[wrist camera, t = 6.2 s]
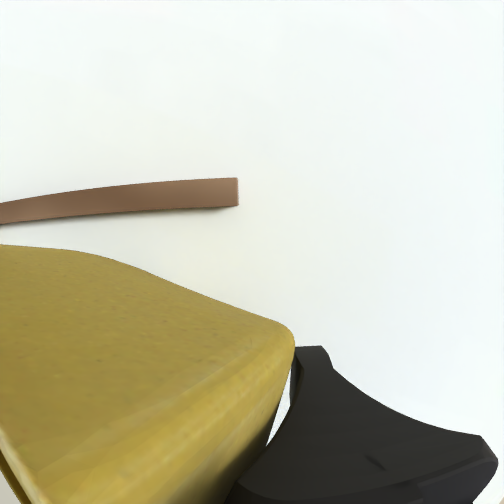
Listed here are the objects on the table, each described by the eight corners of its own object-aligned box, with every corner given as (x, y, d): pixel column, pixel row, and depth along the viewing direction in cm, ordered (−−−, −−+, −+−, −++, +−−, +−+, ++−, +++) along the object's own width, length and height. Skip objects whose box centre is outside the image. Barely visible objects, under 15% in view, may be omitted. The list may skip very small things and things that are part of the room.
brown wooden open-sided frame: (248, 453, 14) (248, 464, 13) (39, 421, 14) (34, 427, 13) (237, 178, 11) (236, 177, 11) (-16, 207, 11) (-26, 208, 11)
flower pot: (137, 396, 14) (-10, 457, 6) (147, 231, 13) (-64, 236, 5) (289, 480, 10) (153, 630, 2) (356, 288, 9) (56, 532, 1)
